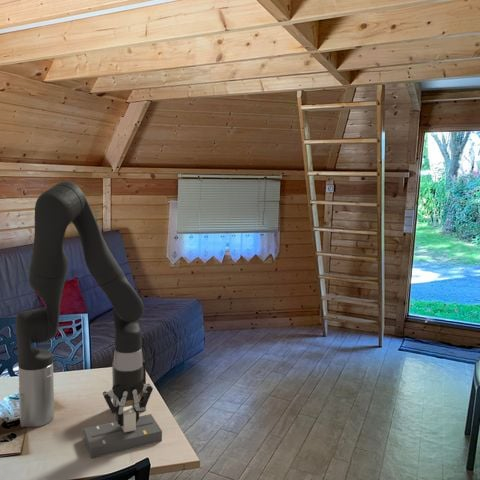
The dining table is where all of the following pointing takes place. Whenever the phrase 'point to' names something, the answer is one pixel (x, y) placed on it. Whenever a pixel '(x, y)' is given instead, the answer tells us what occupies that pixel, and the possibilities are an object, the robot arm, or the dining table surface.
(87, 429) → the fader console
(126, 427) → the fader knob
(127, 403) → the coffee box
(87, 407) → the dining table surface
